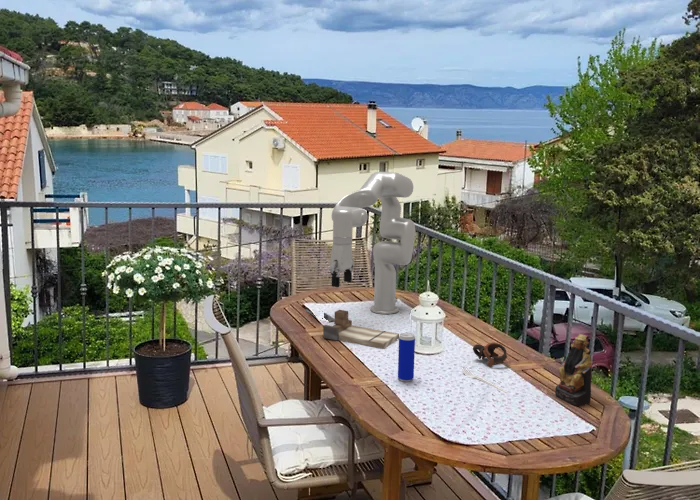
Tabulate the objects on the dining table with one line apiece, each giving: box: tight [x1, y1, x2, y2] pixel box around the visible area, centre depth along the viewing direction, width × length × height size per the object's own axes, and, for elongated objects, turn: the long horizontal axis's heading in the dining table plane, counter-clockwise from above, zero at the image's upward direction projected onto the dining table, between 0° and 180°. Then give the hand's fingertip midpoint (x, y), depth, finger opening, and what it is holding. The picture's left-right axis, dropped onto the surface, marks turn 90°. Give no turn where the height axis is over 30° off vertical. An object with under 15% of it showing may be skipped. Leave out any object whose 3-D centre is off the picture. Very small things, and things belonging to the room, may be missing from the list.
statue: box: [554, 333, 593, 407], centre depth 190 cm, size 12×8×20 cm, turn 20°
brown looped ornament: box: [472, 342, 508, 368], centre depth 222 cm, size 12×10×8 cm
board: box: [337, 324, 400, 349], centre depth 247 cm, size 14×26×2 cm, turn 61°
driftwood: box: [304, 308, 334, 323], centre depth 276 cm, size 21×7×2 cm, turn 25°
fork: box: [461, 366, 508, 394], centre depth 205 cm, size 3×20×2 cm, turn 32°
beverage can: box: [397, 332, 416, 383], centre depth 205 cm, size 5×5×15 cm
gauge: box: [322, 309, 353, 341], centre depth 249 cm, size 15×6×9 cm, turn 151°
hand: (341, 284), depth 247 cm, fingers open, 9 cm apart
